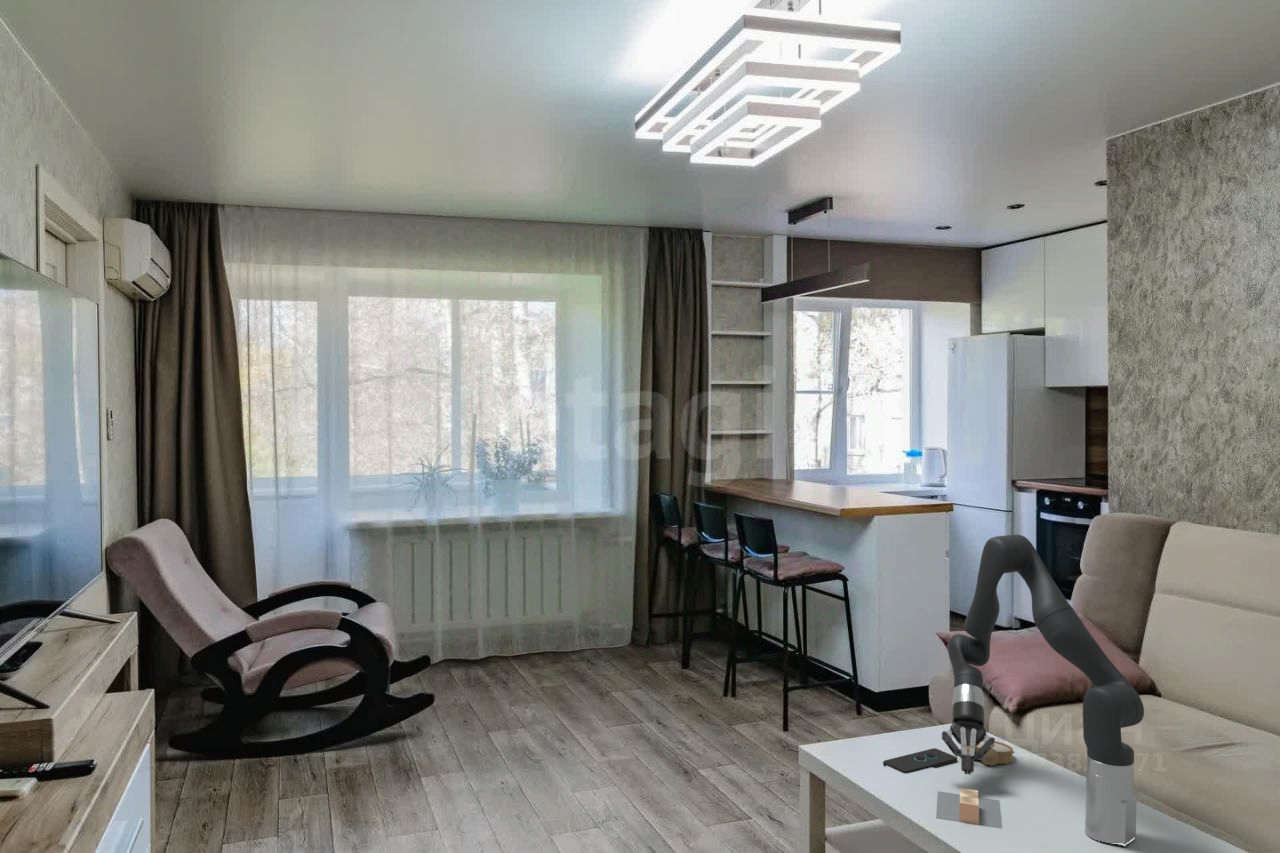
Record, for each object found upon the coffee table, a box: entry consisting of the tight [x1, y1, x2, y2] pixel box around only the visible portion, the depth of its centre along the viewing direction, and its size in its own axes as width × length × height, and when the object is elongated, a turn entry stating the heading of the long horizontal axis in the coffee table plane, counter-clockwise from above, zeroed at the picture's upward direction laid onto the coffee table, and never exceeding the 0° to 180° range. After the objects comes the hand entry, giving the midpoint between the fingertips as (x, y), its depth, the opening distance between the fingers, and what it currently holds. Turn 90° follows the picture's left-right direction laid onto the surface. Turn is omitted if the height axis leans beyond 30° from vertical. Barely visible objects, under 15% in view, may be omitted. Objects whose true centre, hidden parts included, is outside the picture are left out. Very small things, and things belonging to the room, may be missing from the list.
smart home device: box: [882, 747, 958, 774], centre depth 243 cm, size 8×2×20 cm
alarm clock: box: [967, 739, 1015, 767], centre depth 247 cm, size 11×5×15 cm
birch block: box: [959, 787, 979, 825], centre depth 211 cm, size 4×4×9 cm
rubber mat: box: [935, 790, 1003, 829], centre depth 214 cm, size 14×16×1 cm
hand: (967, 772), depth 221 cm, fingers closed
